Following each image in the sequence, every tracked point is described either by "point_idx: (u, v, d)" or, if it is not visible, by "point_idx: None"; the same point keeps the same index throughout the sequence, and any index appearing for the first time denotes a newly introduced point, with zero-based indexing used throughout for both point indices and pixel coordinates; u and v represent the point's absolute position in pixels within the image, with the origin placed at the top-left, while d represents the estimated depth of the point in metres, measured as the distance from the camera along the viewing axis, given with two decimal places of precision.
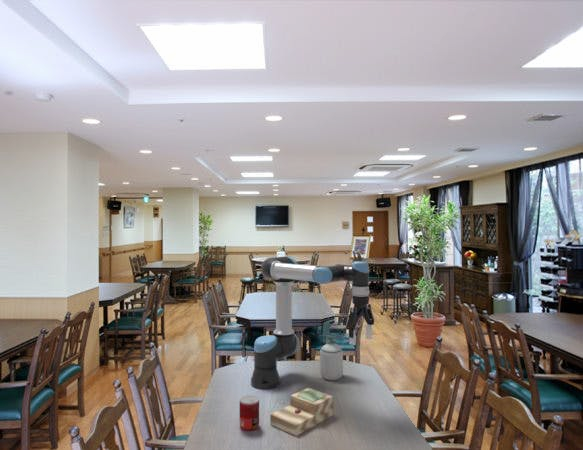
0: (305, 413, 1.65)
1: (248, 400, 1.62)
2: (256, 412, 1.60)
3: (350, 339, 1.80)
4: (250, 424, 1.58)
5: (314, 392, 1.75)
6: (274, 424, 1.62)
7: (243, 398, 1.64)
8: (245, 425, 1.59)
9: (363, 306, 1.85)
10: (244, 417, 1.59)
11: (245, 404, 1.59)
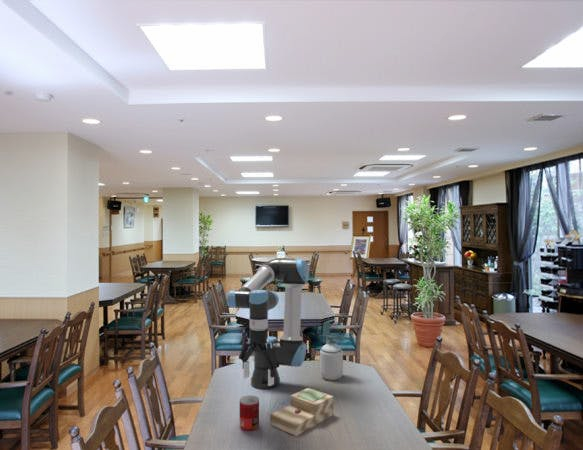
0: (305, 413, 1.65)
1: (248, 400, 1.62)
2: (256, 412, 1.60)
3: None
4: (250, 424, 1.58)
5: (314, 392, 1.75)
6: (274, 424, 1.62)
7: (243, 398, 1.64)
8: (245, 424, 1.59)
9: (257, 342, 1.63)
10: (244, 417, 1.59)
11: (245, 404, 1.59)
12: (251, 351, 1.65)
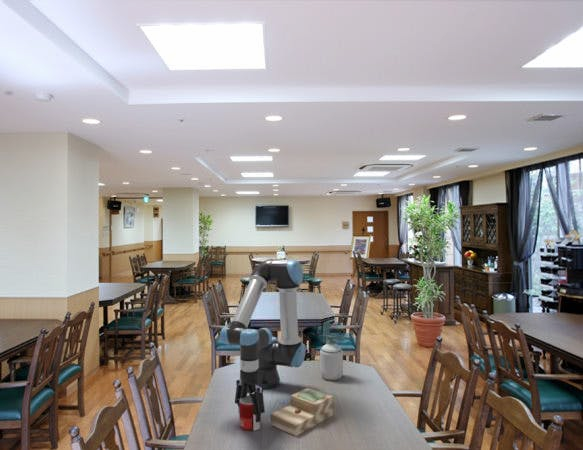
0: (305, 413, 1.65)
1: (248, 400, 1.62)
2: None
3: None
4: (250, 424, 1.58)
5: (314, 392, 1.75)
6: (274, 424, 1.62)
7: (243, 398, 1.64)
8: (245, 424, 1.59)
9: (248, 381, 1.61)
10: (244, 417, 1.59)
11: (245, 404, 1.59)
12: (244, 393, 1.63)
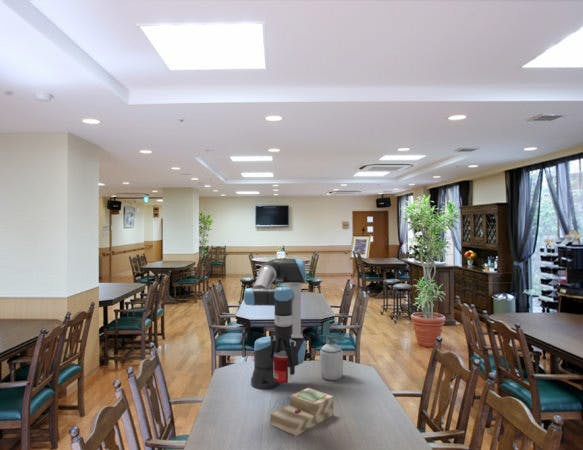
0: (305, 413, 1.65)
1: (282, 354, 1.68)
2: None
3: None
4: (284, 377, 1.64)
5: (314, 392, 1.75)
6: (274, 424, 1.62)
7: (277, 352, 1.70)
8: (279, 377, 1.64)
9: (283, 336, 1.67)
10: (278, 370, 1.65)
11: (280, 357, 1.65)
12: (278, 348, 1.69)
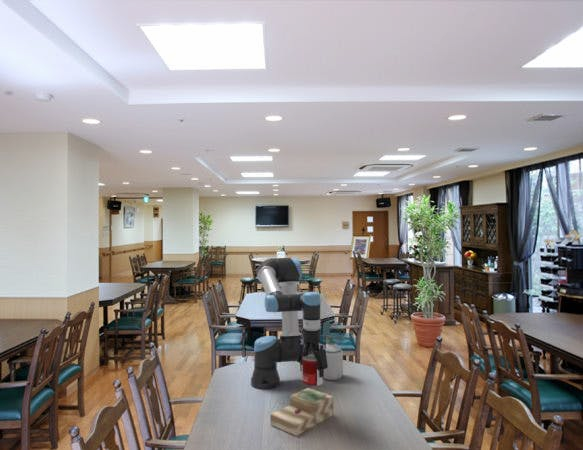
0: (305, 413, 1.65)
1: (310, 357, 1.72)
2: None
3: None
4: (313, 380, 1.69)
5: (314, 392, 1.75)
6: (274, 424, 1.62)
7: (305, 356, 1.74)
8: (309, 380, 1.69)
9: (311, 339, 1.71)
10: (308, 373, 1.69)
11: (309, 360, 1.69)
12: (306, 351, 1.74)
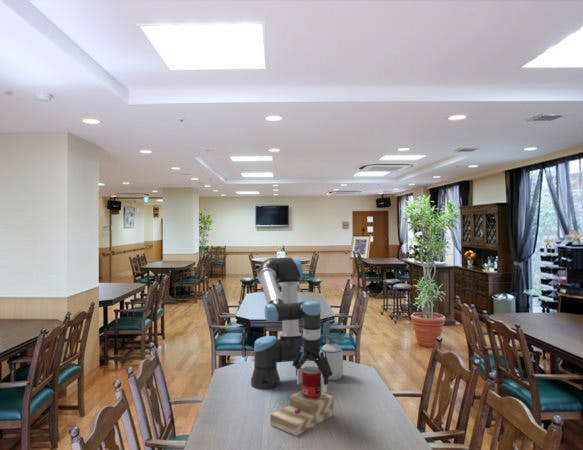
0: (305, 413, 1.65)
1: (310, 370, 1.72)
2: (319, 381, 1.70)
3: None
4: (313, 392, 1.69)
5: None
6: (274, 424, 1.62)
7: (305, 368, 1.74)
8: (309, 392, 1.69)
9: (311, 350, 1.72)
10: (308, 385, 1.69)
11: (309, 373, 1.69)
12: (304, 359, 1.75)
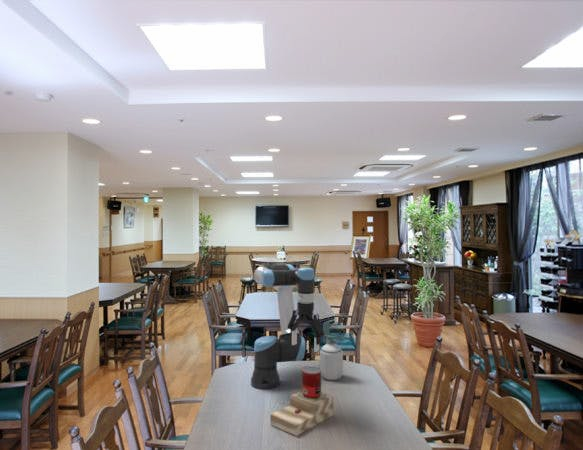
0: (305, 413, 1.65)
1: (310, 370, 1.72)
2: (319, 381, 1.70)
3: None
4: (313, 392, 1.69)
5: None
6: (274, 424, 1.62)
7: (305, 368, 1.74)
8: (309, 392, 1.69)
9: (305, 313, 1.83)
10: (308, 385, 1.69)
11: (309, 373, 1.69)
12: (299, 321, 1.86)
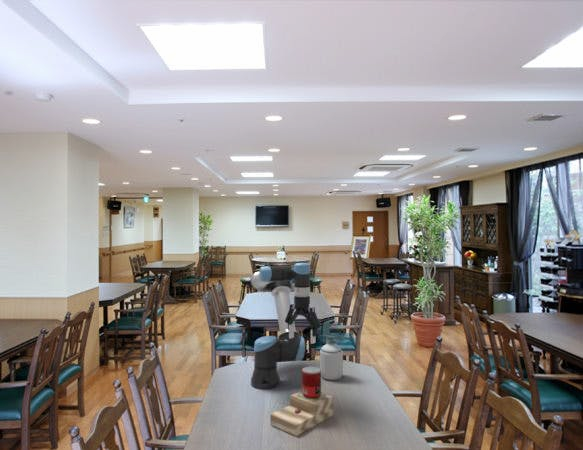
0: (305, 413, 1.65)
1: (310, 370, 1.72)
2: (319, 381, 1.70)
3: None
4: (313, 392, 1.69)
5: None
6: (274, 424, 1.62)
7: (305, 368, 1.74)
8: (309, 392, 1.69)
9: (301, 306, 1.90)
10: (308, 386, 1.69)
11: (309, 373, 1.69)
12: (295, 315, 1.93)
